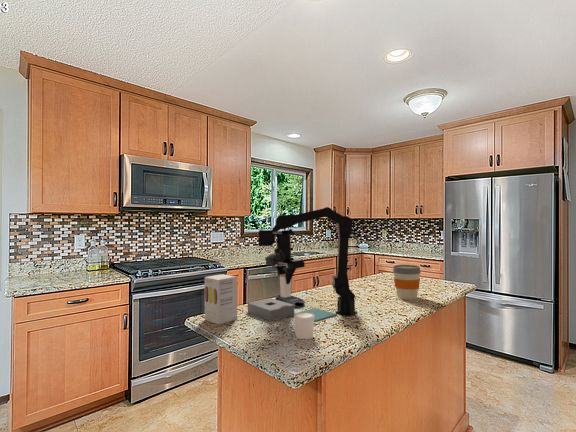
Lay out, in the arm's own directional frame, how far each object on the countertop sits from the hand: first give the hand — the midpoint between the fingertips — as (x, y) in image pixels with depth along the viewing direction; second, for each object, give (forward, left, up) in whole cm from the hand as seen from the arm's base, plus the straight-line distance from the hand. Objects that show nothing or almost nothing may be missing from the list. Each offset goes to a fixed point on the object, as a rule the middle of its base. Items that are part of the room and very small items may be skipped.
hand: (285, 283), depth 130 cm
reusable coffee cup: (-19, -61, -13) cm, 65 cm away
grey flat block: (+5, +4, -12) cm, 14 cm away
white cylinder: (-23, +11, -13) cm, 29 cm away
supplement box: (+12, +23, -13) cm, 29 cm away
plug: (0, 0, -5) cm, 5 cm away
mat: (-9, -8, -12) cm, 17 cm away
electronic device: (+11, -12, -13) cm, 21 cm away
